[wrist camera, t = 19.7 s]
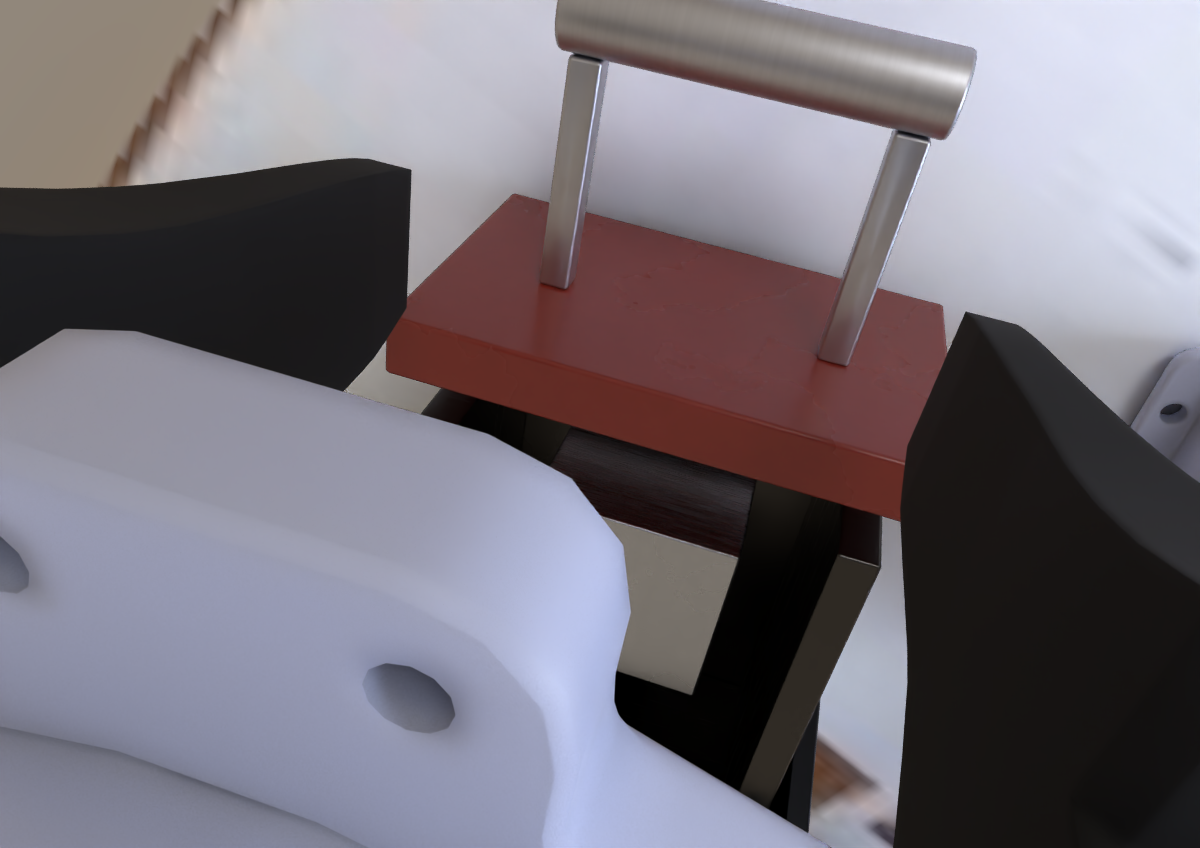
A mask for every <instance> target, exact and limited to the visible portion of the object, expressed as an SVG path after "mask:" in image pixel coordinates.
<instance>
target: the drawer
mask: <svg viewBox="0 0 1200 848" xmlns="http://www.w3.org/2000/svg"><path fill="white" fill-rule="evenodd" d="M555 36H556V42H557V45H558V47H559V48H560V49H561V50H563V51H568V52H572V53H573V54H572V55H571V56H570V57H569V59H568V67H567V74H566V82H565V89H564V97H563V105H562V112H561V120H560V127H559V135H558V142H557V150H556V157H555V165H554V172H553V180H552V188H551V195H550V203H548V202H545V201H541V200H537V199H533V198H529V197H525V196H522V195H518V194H512V195H511V196H510V197H509V198H508V199H507V200H506V201H505V202H504V203H503V204H502V205H501V206H500V207H499V208H498V209H497V210H496V211H495V212H494V213H493V214H492V215H491V216H490V217H489V218H488V219H487V220H486V221H485V222H484V223H483V224H482V225H481V226H480V227H479V228H478V229H477V230H475V231H474V232H473V233H472V234H471V235H470V236H469V237H468V238H467V239H466V240H465V241H464V242H463V243H462V244H461V245H460V246H459V247H458V248H457V249H456V250H455V251H454V252H453V253H452V254H451V255H450V256H449V257H448V258H447V259H446V260H445V261H444V262H443V263H442V264H441V265H440V266H439V267H438V268H437V269H436V270H435V271H434V272H433V273H431V274H430V275H429V276H428V277H427V278H426V279H425V280H424V281H423V282H422V283H421V284H420V285H419V286H418V287H417V288H416V289H415V290H414V291H413V292H412V293H411V294H410V295H409V296H408V297H407V308H406V310H405V311H404V313H403V314H402V316H401V318H400V319H399V321H398V322H397V324H396V326H395V327H394V329H393V330H392V332H391V334H390V335H389V337H388V338H387V341H386V370H387V371H388V372H389V373H392V374H396V375H399V376H403V377H406V378H409V379H413V380H416V381H420V382H423V383H427V384H430V385H433V386H437V387H440V388H441V389H440V390H439V392H438V393H437V394H436V395H435V397H434V398H433V399H432V400H431V402H430V403H429V404H428V405H427V407H426V408H425V409H424V410H423V412H422V413H421V415H424V416H428V417H431V418H435V419H438V420H442V421H445V422H448V423H452V424H455V425H459V426H462V427H466V428H469V429H472V430H476V431H479V432H483V433H486V434H489V435H491V436H493V437H495V438H496V439H498V440H500V441H502V442H504V443H506V444H508V445H510V446H512V447H513V448H515V449H517V450H519V451H521V452H523V453H525V454H527V455H528V456H530V457H532V458H534V459H536V460H538V461H540V462H542V463H543V464H545V465H547V466H550V465H551V463H552V461H553V459H554V457H555V455H556V453H557V452H558V450H559V448H560V446H561V444H562V442H563V440H564V439H565V437H566V435H567V433H568V431H569V429H570V427H571V426H574V427H577V428H581V429H584V430H588V431H591V432H595V433H598V434H601V435H605V436H608V437H612V438H615V439H619V440H622V441H625V442H629V443H632V444H636V445H639V446H643V447H646V448H649V449H653V450H656V451H660V452H663V453H667V454H670V455H673V456H677V457H680V458H684V459H687V460H691V461H694V462H697V463H701V464H704V465H708V466H711V467H715V468H718V469H721V470H725V471H728V472H732V473H735V474H739V475H742V476H745V477H749V478H752V479H756V480H757V482H756V487H755V492H754V496H753V501H752V506H751V510H750V515H749V520H748V524H747V529H746V534H745V538H744V543H743V548H742V552H741V557H740V561H739V564H738V567H737V570H736V573H735V576H734V578H733V581H732V584H731V587H730V590H729V593H728V596H727V599H726V602H725V605H724V608H723V611H722V614H721V617H720V620H719V623H718V626H717V629H716V631H715V634H714V637H713V640H712V643H711V646H710V649H709V652H708V655H707V658H706V661H705V664H704V667H703V670H702V673H701V676H700V679H699V682H698V684H697V687H696V690H695V693H694V694H693V695H688V694H685V693H682V692H679V691H676V690H672V689H669V688H666V687H663V686H660V685H657V684H654V683H651V682H648V681H645V680H642V679H639V678H636V677H632V676H629V675H626V674H623V673H620V672H617V671H616V674H615V692H614V702H615V706H616V709H617V712H618V715H619V716H620V717H621V718H622V720H623V721H624V722H625V723H626V724H627V725H629V726H630V727H632V728H634V729H635V730H637V731H639V732H640V733H642V734H644V735H645V736H647V737H649V738H650V739H652V740H654V741H655V742H657V743H659V744H660V745H662V746H664V747H665V748H667V749H669V750H670V751H672V752H674V753H675V754H677V755H679V756H680V757H682V758H684V759H685V760H687V761H689V762H690V763H692V764H694V765H695V766H697V767H699V768H700V769H702V770H704V771H705V772H707V773H708V774H710V775H712V776H713V777H715V778H717V779H718V780H720V781H722V782H723V783H725V784H727V785H728V786H730V787H732V788H733V789H735V790H737V791H738V792H740V793H742V794H743V795H745V796H747V797H748V798H750V799H752V800H753V801H755V802H757V803H758V804H760V805H762V806H763V807H765V808H767V809H769V807H770V805H771V803H772V801H773V799H774V796H775V794H776V792H777V790H778V788H779V786H780V784H781V781H782V779H783V777H784V775H785V773H786V771H787V769H788V766H789V764H790V762H791V760H792V758H793V756H794V754H795V751H796V749H797V747H798V745H799V743H800V741H801V739H802V736H803V734H804V732H805V730H806V728H807V726H808V724H809V721H810V719H811V717H812V715H813V713H814V711H815V709H816V706H817V704H818V702H819V700H820V698H821V696H822V694H823V691H824V689H825V687H826V685H827V683H828V681H829V679H830V676H831V674H832V672H833V670H834V668H835V666H836V663H837V661H838V659H839V657H840V655H841V653H842V651H843V648H844V646H845V644H846V642H847V640H848V638H849V636H850V633H851V631H852V629H853V627H854V625H855V623H856V621H857V618H858V616H859V614H860V612H861V610H862V608H863V606H864V603H865V601H866V599H867V597H868V595H869V593H870V591H871V588H872V586H873V584H874V582H875V580H876V578H877V576H878V573H879V571H880V569H881V549H882V516H883V517H886V518H889V519H893V520H896V521H900V522H901V519H900V505H901V495H902V484H903V475H904V467H905V459H906V451H907V445H908V443H909V441H910V438H911V436H912V434H913V431H914V429H915V427H916V425H917V422H918V420H919V418H920V415H921V413H922V411H923V409H924V406H925V404H926V402H927V399H928V397H929V395H930V392H931V390H932V388H933V386H934V383H935V381H936V379H937V376H938V374H939V372H940V370H941V367H942V365H943V363H944V360H945V358H946V356H947V347H946V336H945V325H944V314H943V306H942V305H940V304H936V303H932V302H929V301H925V300H921V299H917V298H913V297H909V296H906V295H902V294H898V293H894V292H890V291H886V290H883V289H879V288H878V285H879V282H880V280H881V277H882V274H883V272H884V269H885V266H886V264H887V261H888V258H889V256H890V253H891V250H892V248H893V245H894V242H895V239H896V237H897V234H898V231H899V229H900V226H901V223H902V221H903V218H904V215H905V213H906V210H907V207H908V204H909V202H910V199H911V196H912V194H913V191H914V188H915V186H916V183H917V180H918V178H919V175H920V172H921V169H922V167H923V164H924V161H925V159H926V156H927V153H928V151H929V148H930V145H931V141H930V138H933V139H938V140H945V139H946V138H947V137H948V136H949V134H950V133H951V131H952V130H953V128H954V126H955V124H956V121H957V119H958V117H959V115H960V112H961V110H962V107H963V105H964V102H965V99H966V96H967V93H968V90H969V87H970V84H971V81H972V77H973V74H974V70H975V65H976V59H977V52H976V50H975V49H974V48H972V47H968V46H963V45H959V44H954V43H950V42H945V41H941V40H936V39H932V38H927V37H923V36H918V35H914V34H910V33H905V32H901V31H896V30H892V29H887V28H883V27H878V26H874V25H869V24H865V23H861V22H856V21H852V20H847V19H843V18H838V17H834V16H829V15H825V14H820V13H816V12H811V11H807V10H803V9H798V8H794V7H789V6H785V5H780V4H776V3H771V2H767V1H762V0H558V2H557V8H556V17H555ZM609 61H610V62H614V63H618V64H622V65H626V66H631V67H635V68H639V69H643V70H647V71H652V72H656V73H660V74H664V75H669V76H673V77H677V78H681V79H685V80H690V81H694V82H698V83H702V84H706V85H711V86H715V87H719V88H723V89H727V90H732V91H736V92H740V93H744V94H748V95H753V96H757V97H761V98H765V99H769V100H774V101H778V102H782V103H786V104H790V105H795V106H799V107H803V108H807V109H811V110H816V111H820V112H824V113H828V114H832V115H837V116H841V117H845V118H849V119H853V120H858V121H862V122H866V123H870V124H874V125H879V126H883V127H887V128H891V129H893V131H892V134H891V137H890V140H889V142H888V145H887V148H886V151H885V154H884V157H883V160H882V163H881V166H880V169H879V172H878V174H877V177H876V180H875V183H874V186H873V189H872V192H871V195H870V198H869V201H868V203H867V206H866V209H865V212H864V215H863V218H862V221H861V224H860V227H859V230H858V233H857V235H856V238H855V241H854V244H853V247H852V250H851V253H850V256H849V259H848V262H847V265H846V267H845V270H844V273H843V276H842V279H840V278H836V277H833V276H829V275H825V274H821V273H817V272H813V271H810V270H806V269H802V268H798V267H794V266H790V265H786V264H783V263H779V262H775V261H771V260H767V259H763V258H760V257H756V256H752V255H748V254H744V253H740V252H737V251H733V250H729V249H725V248H721V247H717V246H714V245H710V244H706V243H702V242H698V241H694V240H690V239H687V238H683V237H679V236H675V235H671V234H667V233H664V232H660V231H656V230H652V229H648V228H644V227H641V226H637V225H633V224H629V223H625V222H621V221H618V220H614V219H610V218H606V217H602V216H598V215H594V214H591V213H587V212H586V206H587V200H588V194H589V187H590V181H591V175H592V168H593V162H594V155H595V149H596V143H597V136H598V130H599V124H600V117H601V111H602V105H603V98H604V92H605V86H606V79H607V73H608V67H609Z"/></svg>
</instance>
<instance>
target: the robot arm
mask: <svg viewBox="0 0 1200 848" xmlns="http://www.w3.org/2000/svg"><path fill="white" fill-rule="evenodd" d="M410 198H411V170H410V169H406V168H402V167H398V166H394V165H390V164H387V163H383V162H379V161H375V160H371V159H359V158H348V159H334V160H325V161H317V162H309V163H302V164H296V165H289V166H282V167H276V168H270V169H263V170H257V171H250V172H244V173H237V174H230V175H222V176H214V177H206V178H198V179H190V180H182V181H174V182H166V183H157V184H147V185H134V186H120V187H98V188H74V189H40V188H39V189H38V188H0V848H832V847H830V846H828V845H827V844H825V843H823V842H822V841H820V840H818V839H817V838H815V837H813V836H812V835H810V834H808V833H807V832H805V831H803V830H802V829H800V828H798V827H797V826H795V825H793V824H792V823H790V822H788V821H787V820H785V819H783V818H782V817H780V816H778V815H777V814H775V813H773V812H772V811H770V810H768V809H767V808H765V807H763V806H762V805H760V804H758V803H757V802H755V801H753V800H752V799H750V798H748V797H747V796H745V795H743V794H742V793H740V792H738V791H737V790H735V789H733V788H732V787H730V786H728V785H727V784H725V783H723V782H722V781H720V780H718V779H717V778H715V777H713V776H712V775H710V774H708V773H707V772H705V771H704V770H702V769H700V768H699V767H697V766H695V765H694V764H692V763H690V762H689V761H687V760H685V759H684V758H682V757H680V756H679V755H677V754H675V753H674V752H672V751H670V750H669V749H667V748H665V747H664V746H662V745H660V744H659V743H657V742H655V741H654V740H652V739H650V738H649V737H647V736H645V735H644V734H642V733H640V732H639V731H637V730H635V729H634V728H632V727H630V726H629V725H627V724H626V723H625V722H624V721H623V720H622V718H621V717H620V716H619V715H618V712H617V709H616V706H615V702H614V692H615V674H616V670H617V666H618V662H619V658H620V654H621V650H622V646H623V642H624V638H625V634H626V630H627V626H628V622H629V618H630V614H631V610H630V601H629V592H628V583H627V574H626V565H625V556H624V547H623V544H622V543H621V542H620V540H619V539H618V538H617V537H616V535H615V534H614V533H613V531H612V530H611V529H610V528H609V526H608V525H607V524H606V522H605V521H604V520H603V519H602V517H601V516H600V515H599V513H598V512H597V511H596V510H595V508H594V507H593V506H592V504H591V503H590V502H589V501H588V499H587V498H586V497H585V495H584V494H583V493H582V492H581V490H580V489H579V488H578V487H577V485H576V484H575V483H574V481H573V480H572V479H571V478H570V477H568V476H566V475H564V474H562V473H560V472H559V471H557V470H555V469H553V468H551V467H549V466H547V465H545V464H543V463H542V462H540V461H538V460H536V459H534V458H532V457H530V456H528V455H527V454H525V453H523V452H521V451H519V450H517V449H515V448H513V447H512V446H510V445H508V444H506V443H504V442H502V441H500V440H498V439H496V438H495V437H493V436H491V435H489V434H486V433H483V432H479V431H476V430H472V429H469V428H466V427H462V426H459V425H455V424H452V423H448V422H445V421H442V420H438V419H435V418H431V417H428V416H424V415H421V414H418V413H414V412H411V411H407V410H404V409H400V408H397V407H394V406H390V405H387V404H383V403H380V402H376V401H373V400H370V399H366V398H363V397H359V396H356V395H353V394H349V393H346V392H343V391H344V390H345V389H346V388H347V387H348V386H349V385H350V384H351V383H352V382H353V380H354V379H355V378H356V377H357V376H358V375H359V374H360V373H361V372H362V371H363V370H364V369H365V367H366V366H367V365H368V364H369V363H370V362H371V361H372V360H373V358H374V357H375V355H376V354H377V353H378V351H379V350H380V348H381V347H382V345H383V344H384V342H385V341H386V340H387V338H388V337H389V335H390V334H391V332H392V330H393V329H394V327H395V326H396V324H397V322H398V321H399V319H400V318H401V316H402V314H403V313H404V311H405V310H406V308H407V284H408V255H409V227H410ZM1170 404H1181V405H1182V408H1181V409H1180V410H1179V411H1178V412H1177V413H1174V414H1171V415H1164V414H1161V413H1160V412H1161V410H1162V409H1163V408H1164V407H1165V406H1167V405H1170ZM900 519H901V542H902V563H903V580H904V598H905V616H906V634H907V679H908V683H907V698H906V711H905V725H904V739H903V753H902V764H901V774H900V785H899V796H898V807H897V817H896V828H895V837H894V846H893V848H1200V348H1193V349H1188V350H1184V351H1183V352H1181V353H1179V354H1177V355H1176V356H1175V357H1174V358H1173V359H1172V360H1171V361H1170V362H1169V364H1168V365H1167V367H1166V369H1165V370H1164V372H1163V374H1162V375H1161V377H1160V379H1159V380H1158V382H1157V384H1156V385H1155V387H1154V388H1153V390H1152V392H1151V393H1150V395H1149V397H1148V398H1147V400H1146V402H1145V403H1144V405H1143V406H1142V408H1141V410H1140V411H1139V413H1138V415H1137V416H1136V418H1135V420H1134V421H1133V423H1132V425H1131V426H1130V427H1129V426H1128V425H1127V424H1126V423H1125V422H1124V421H1123V420H1122V419H1121V418H1119V417H1118V416H1117V415H1116V414H1115V413H1114V412H1113V411H1112V410H1111V409H1109V408H1108V407H1107V406H1106V405H1105V404H1104V403H1103V402H1102V401H1101V400H1100V399H1099V398H1098V397H1097V396H1096V395H1095V394H1093V393H1092V392H1091V391H1090V390H1089V389H1088V388H1087V387H1086V386H1085V385H1084V384H1083V383H1082V382H1081V381H1080V380H1079V379H1078V378H1077V377H1076V376H1075V375H1074V374H1073V373H1072V372H1071V371H1070V370H1069V369H1068V368H1067V367H1066V366H1065V365H1063V364H1062V363H1061V362H1060V361H1059V360H1058V359H1057V358H1056V357H1055V356H1054V355H1053V354H1052V353H1051V352H1050V351H1049V350H1048V349H1047V348H1046V347H1045V346H1044V345H1043V344H1041V343H1040V342H1039V341H1038V340H1037V339H1036V338H1035V337H1034V336H1032V335H1031V334H1030V333H1029V332H1027V331H1026V330H1025V329H1023V328H1022V327H1020V326H1019V325H1016V324H1012V323H1008V322H1005V321H1001V320H997V319H993V318H989V317H985V316H981V315H977V314H973V313H969V312H965V314H964V317H963V319H962V321H961V324H960V326H959V328H958V330H957V333H956V335H955V337H954V340H953V342H952V344H951V347H950V349H949V351H948V353H947V356H946V358H945V360H944V363H943V365H942V367H941V370H940V372H939V374H938V376H937V379H936V381H935V383H934V386H933V388H932V390H931V392H930V395H929V397H928V399H927V402H926V404H925V406H924V409H923V411H922V413H921V415H920V418H919V420H918V422H917V425H916V427H915V429H914V431H913V434H912V436H911V438H910V441H909V443H908V445H907V451H906V459H905V467H904V475H903V484H902V495H901V505H900Z"/></svg>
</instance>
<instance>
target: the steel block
mask: <svg viewBox="0 0 1200 848" xmlns="http://www.w3.org/2000/svg"><path fill="white" fill-rule="evenodd" d="M549 467H551V468H553V469H555V470H557V471H559V472H560V473H562V474H564V475H566V476H568V477H570V478H571V479H572V480H573V481H574V483H575V484H576V485H577V487H578V488H579V489H580V490H581V492H582V493H583V494H584V495H585V497H586V498H587V499H588V501H589V502H590V503H591V504H592V506H593V507H594V508H595V510H596V511H597V512H598V513H599V515H600V516H601V517H602V519H603V520H604V521H605V522H606V524H607V525H608V526H609V528H610V529H611V530H612V531H613V533H614V534H615V535H616V537H617V538H618V539H619V540H620V542H621V543H622V544H623V547H624V556H625V565H626V574H627V583H628V592H629V601H630V610H631V614H630V618H629V622H628V626H627V630H626V634H625V638H624V642H623V646H622V650H621V654H620V658H619V662H618V666H617V670H616V671H617V672H620V673H623V674H626V675H629V676H632V677H636V678H639V679H642V680H645V681H648V682H651V683H654V684H657V685H660V686H663V687H666V688H669V689H672V690H676V691H679V692H682V693H685V694H688V695H693V694H694V693H695V690H696V687H697V684H698V682H699V679H700V676H701V673H702V670H703V667H704V664H705V661H706V658H707V655H708V652H709V649H710V646H711V643H712V640H713V637H714V634H715V631H716V629H717V626H718V623H719V620H720V617H721V614H722V611H723V608H724V605H725V602H726V599H727V596H728V593H729V590H730V587H731V584H732V581H733V578H734V576H735V573H736V570H737V567H738V564H739V561H740V557H741V552H742V548H743V543H744V538H745V534H746V529H747V524H748V520H749V515H750V510H751V506H752V501H753V496H754V492H755V487H756V482H757V480H756V479H752V478H749V477H745V476H742V475H739V474H735V473H732V472H728V471H725V470H721V469H718V468H715V467H711V466H708V465H704V464H701V463H697V462H694V461H691V460H687V459H684V458H680V457H677V456H673V455H670V454H667V453H663V452H660V451H656V450H653V449H649V448H646V447H643V446H639V445H636V444H632V443H629V442H625V441H622V440H619V439H615V438H612V437H608V436H605V435H601V434H598V433H595V432H591V431H588V430H584V429H581V428H577V427H574V426H571V427H570V429H569V431H568V433H567V435H566V437H565V439H564V440H563V442H562V444H561V446H560V448H559V450H558V452H557V453H556V455H555V457H554V459H553V461H552V463H551V465H550V466H549Z"/></svg>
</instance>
